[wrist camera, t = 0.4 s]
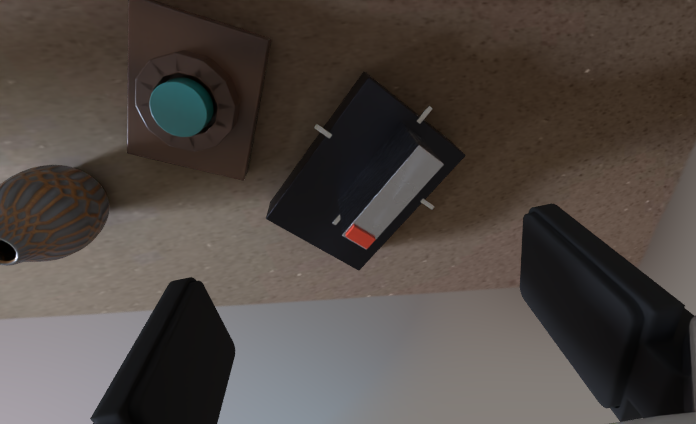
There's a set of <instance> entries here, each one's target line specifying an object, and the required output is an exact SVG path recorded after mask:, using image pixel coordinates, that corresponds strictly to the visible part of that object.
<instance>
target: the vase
mask: <svg viewBox="0 0 696 424" xmlns="http://www.w3.org/2000/svg"><path fill="white" fill-rule="evenodd" d="M108 214H109V201H108V197H107V195H106V192H105V191H104V189H103V187H102V186H101V185H100V184H99V182H98V181H96V180H95V179H94V178H93V177H92V176H90V175H89V174H87V173H85V172H83V171H81V170H78V169H75V168H72V167H68V166H62V165H47V166H39V167H34V168H30V169H27V170H25V171H22V172H20V173H18V174H16V175H14V176H12V177H10V178H8V179H7V180H5V181H4V182H3V183H2V184H0V265H14V264H18V263H21V262H41V261H51V260H57V259H60V258H64V257H66V256H69V255H71V254H73V253H75V252H77V251H79V250H81V249H83V248H84V247H86V246H87V245H88V244H89V243H91V242H92V241H93V240H94V239H95V238H96V237H97V235H98V234H99V233H100V232H101V230H102V229H103V227H104V225H105V223H106V221H107V218H108Z"/></svg>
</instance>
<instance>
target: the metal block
mask: <svg viewBox="0 0 696 424" xmlns="http://www.w3.org/2000/svg"><path fill="white" fill-rule="evenodd" d="M443 165H444V164H443V162H442V161H441V160H440V159H439V158H438V156H437V155H436V154H435V153H434V152H433V150H432V149H431V148H430V147H429V146H428V144H427V143H426V142H425V141H424V140H423V138H422V137H420V136H419V135H418V134H417V133H415V132H414V131H413V130H411V129H410V128H409V127H408V126H406V125H405V124H404V123H402V122H400V124H399V125H398V126H397V127H396V129H395V130H394V131H393V132H392V134H391V135H390V136H389V137H388V138H387V140H386V141H385V142H384V143H383V145H382V146H381V147H380V148H379V150H378V151H377V152H376V153H375V155H374V156H373V157H372V158H371V160H370V161H369V162H368V163H367V165H366V166H365V167H364V168H363V169H362V171H361V172H360V173H359V174H358V176H357V177H356V178H355V179H354V181H353V182H352V183H351V184H350V186H349V187H348V188H347V189H346V191H345V192H344V193H343V194H342V196H341V197H340V198H339V199H338V201H339V210H340V220H341V229H342V236H344V237H346V238H347V239H349V240H351V241H352V242H354V243H356V244H357V245H359V246H361V247H363V248H364V249H366V250H367V249H368V248H369V246H370V245H371V244H372V243H373V242H374V241H375V240H376V239H377V238H378V237H379V235H380V234H381V233H382V232H383V231H384V230H385V229H386V228H387V227H388V226H389V224H390V223H391V222H392V221H393V220H394V219H395V218H396V217H397V216H398V215H399V213H400V212H401V211H402V210H403V209H404V208H405V207H406V206H407V205H408V204H409V202H410V201H411V200H412V199H413V198H414V197H415V196H416V195H417V194H418V193H419V191H420V190H421V189H422V188H423V187H424V186H425V185H426V184H427V183H428V182H429V180H430V179H431V178H432V177H433V176H434V175H435V174H436V173H437V172H438V171H439V169H440V168H441V167H442V166H443Z"/></svg>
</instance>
